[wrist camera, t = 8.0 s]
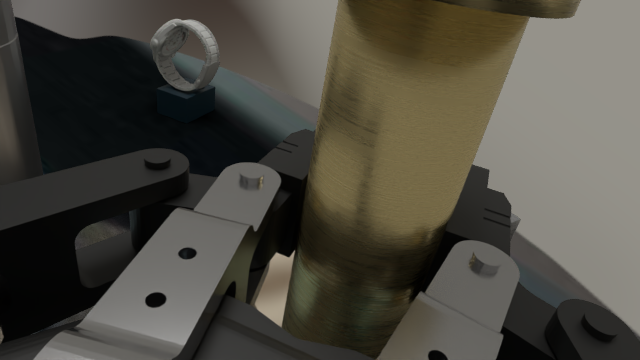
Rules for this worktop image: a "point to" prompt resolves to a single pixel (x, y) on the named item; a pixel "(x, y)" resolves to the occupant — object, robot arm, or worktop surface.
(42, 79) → the worktop surface
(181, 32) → the watch
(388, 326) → the hinge pin
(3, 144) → the robot arm
